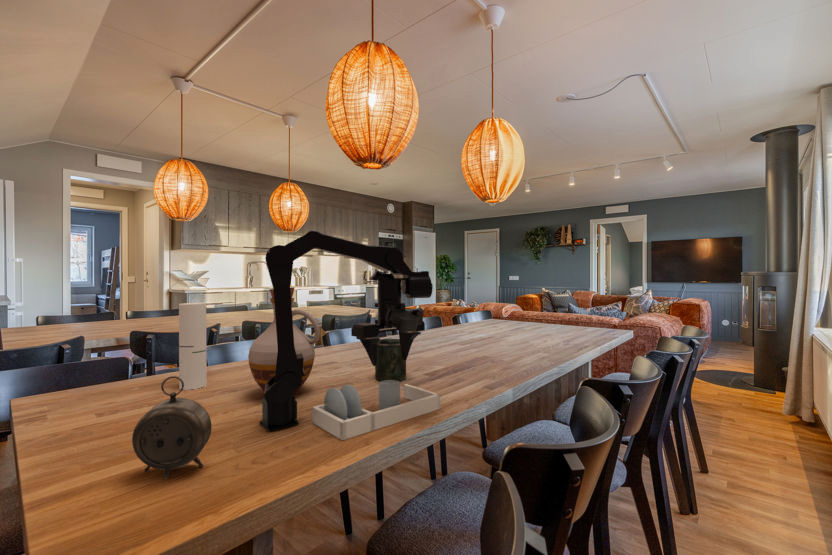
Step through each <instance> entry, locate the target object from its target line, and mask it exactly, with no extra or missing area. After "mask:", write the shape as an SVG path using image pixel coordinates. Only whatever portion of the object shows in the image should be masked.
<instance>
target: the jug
mask: <svg viewBox="0 0 832 555" xmlns="http://www.w3.org/2000/svg"><path fill="white" fill-rule="evenodd" d="M295 288H296V287H294V286H293V287H292V286H290V291H291V305H292V306H293V303H294V301H295V297H293V296H294V291H295ZM269 292H270V295H271V297H270V298H269V300H270V303H271V305H272V310H273V321H272V322H271V324H270V325H269V326H268V327H266V329H265V330H264V331H263V332H262V333H261V334H260V335H259V336H258V337H257V338H256V339H255V340H253V342H252V344H251V346H250V347H249V351H248V356H247V358H248V365H249V369H250V372H251V375H252V377H253V379H254V381H255V383H256V384H257V385H258V386H259V387H260V388H261V390H262V391H263V392H265V386H266V383H267V382H268V381H269V380H270V379H271V378H272V377H273V376H274V375H275V369H276V360H277V352H278V346H277V332H276V318H275V304H274V290H273V288H271V289H270V288H269ZM297 315H300V316H303V317H305V318H306V319H307V320H308V321H309V322H310V323H311V325H312V327H313V330H314V336H313V338H312V339H311V338H310V337H308V335H306V334H305V332H303V331H302V330H301V329H300V328H299V327H297V325H295V324H294V322H293V334H294V347H295V350H296V354H300V353H302V354H303V358H304V361H303V368H304V373H305V376H302V382H301V385H300V386H299V387H298V388H297V389H296V390H295V391H293V394H294V395H295V394H297V393H298V392H299V390H301V388H302V387H303V386H304V384H305V382H306V381H307V380H308V378H309V377H310V375H311V372H312V369H313V366H314V361H315V358H316V357H315V354H316V350H315V346H314V344H316V343H317V342H318V341H319V338H320V335H321V330H320V326H319V324H318V321H317V320H316V318H315V317H314V316H313V315H312V314H311V313H309V312H307V311H306V310H303V309H300V308H299V309H292V320H293V318H294V316H297ZM293 321H294V320H293Z"/></svg>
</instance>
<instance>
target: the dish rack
mask: <svg viewBox="0 0 832 555" xmlns="http://www.w3.org/2000/svg"><path fill="white" fill-rule="evenodd" d="M360 396H361V395H360V394H359V391H358V389H357V388H356V387H355V386H354V385H352V384H344V385H343V386H342V387H341V388H340V389H339V388H338V387H330V388H329V389H327V391H326V393H325V396H324V401H323V404H319V405H314V406H312V407H311V418H312V419H311V423H312V424H314V425H316V427H319V428H321V429H322V430H324V431H325V432H328V433H329V434H330V435H333V437H335V438H337V439H339V440H341V441H345V440H349V439H352V438H355V437H358V436H360V435H361V436H362V435H363V434H367V433H370V432H373V431H376V430H379V429H381V428H385V427H388V426H391V425H396V424H398V423H401V422H404V421H407V420H410V419H413V418H416V417H419V416H422V415H426V414H429V413H432V412H435V411H438V410H441V409H442V408H441V405H442V404H441V402H442V399H441V394H440V393H437V392H433V391H430V390H427V389H424V388H420V387H418V386H414V385H411V384H407V383H405V384H404V385H403V398H404V399H406V400H409V401H408V402H407V401H406V402H403V403H400V405H397V406H393V407H390V408H386V409H383V410H379V409H378V410H376V411H370V410H367V409H365V408H364V407H363V405H362V400H361V399H362V398H361V397H360Z"/></svg>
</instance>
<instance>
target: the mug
mask: <svg viewBox="0 0 832 555" xmlns="http://www.w3.org/2000/svg"><path fill="white" fill-rule="evenodd" d="M374 370H375V372H374V375H375V376H374V377H375V379H376V380H377V381H379V382H381V381H385V380H396V381H399V382H401V381H403V380H405V379H406V377H407V360H403V359H402V355H401V347H400V339H399V338H383V339H381V338H380V340H379V342H378V343H377V366H374Z"/></svg>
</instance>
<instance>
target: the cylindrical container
mask: <svg viewBox="0 0 832 555" xmlns="http://www.w3.org/2000/svg"><path fill="white" fill-rule="evenodd" d="M178 345H179V346H178V370H179V371H178V374H179V376H178V377H179V378H181V379H182V380H183V382H184V387H183V390H182V391H192V390H191V389H194V390H199V389H198V388H200V389H202V388H201V387H203V388H205V387H206V386H207V378H208V376H207V375H208V374H207V370H208V369H207V365H208V364H207V362H208V361H207V356H208V354H207V302H186V303H185V302H184V303H178ZM178 381H179V383H178V386H179V388H178V389H179V390H180V389H181V388H182V383H181V381H180V380H179V379H178ZM204 386H205V387H204Z"/></svg>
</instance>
